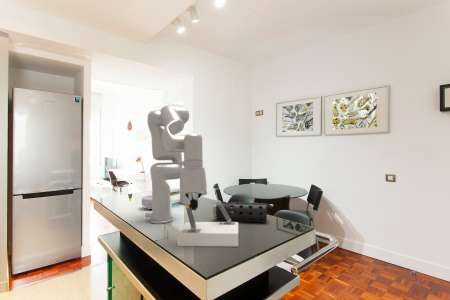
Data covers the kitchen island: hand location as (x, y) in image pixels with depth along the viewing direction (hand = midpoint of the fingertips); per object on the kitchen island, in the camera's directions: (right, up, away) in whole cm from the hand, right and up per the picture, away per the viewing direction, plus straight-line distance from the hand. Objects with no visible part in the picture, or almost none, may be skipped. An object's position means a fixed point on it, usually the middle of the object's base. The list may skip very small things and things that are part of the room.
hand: (194, 209), depth 99 cm
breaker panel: (+6, -14, +5) cm, 16 cm away
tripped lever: (0, -8, 0) cm, 8 cm away
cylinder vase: (-14, -16, +82) cm, 85 cm away
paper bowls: (-35, -16, +65) cm, 76 cm away
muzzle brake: (+21, -14, +32) cm, 41 cm away
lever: (+14, -8, +10) cm, 19 cm away
